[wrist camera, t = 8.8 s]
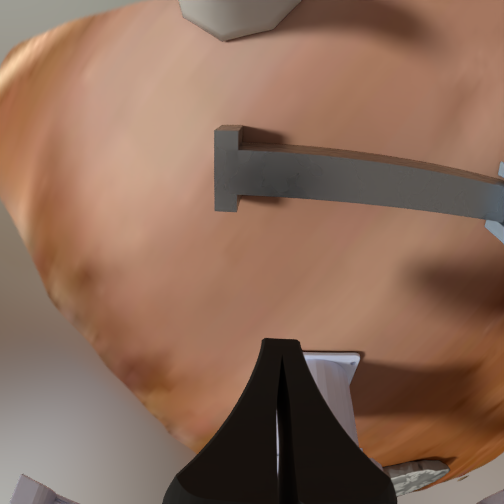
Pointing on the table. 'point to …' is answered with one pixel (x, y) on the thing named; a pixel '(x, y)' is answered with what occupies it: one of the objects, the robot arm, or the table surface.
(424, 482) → the brain slice
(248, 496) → the robot arm
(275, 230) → the table surface
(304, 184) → the rail
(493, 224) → the block
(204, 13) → the flask
